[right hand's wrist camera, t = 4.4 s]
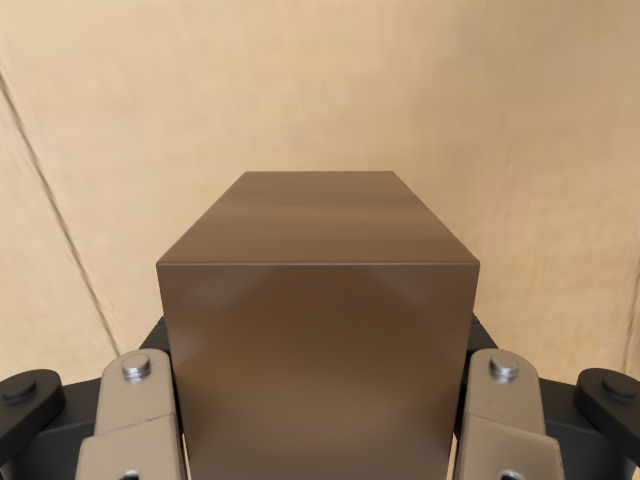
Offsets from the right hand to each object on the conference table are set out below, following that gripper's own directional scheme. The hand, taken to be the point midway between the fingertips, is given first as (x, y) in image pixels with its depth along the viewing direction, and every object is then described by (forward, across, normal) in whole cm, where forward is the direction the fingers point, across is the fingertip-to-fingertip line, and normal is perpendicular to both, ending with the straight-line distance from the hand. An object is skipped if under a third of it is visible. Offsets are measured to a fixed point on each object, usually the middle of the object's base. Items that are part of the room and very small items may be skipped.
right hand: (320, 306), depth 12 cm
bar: (+4, 0, -10) cm, 11 cm away
